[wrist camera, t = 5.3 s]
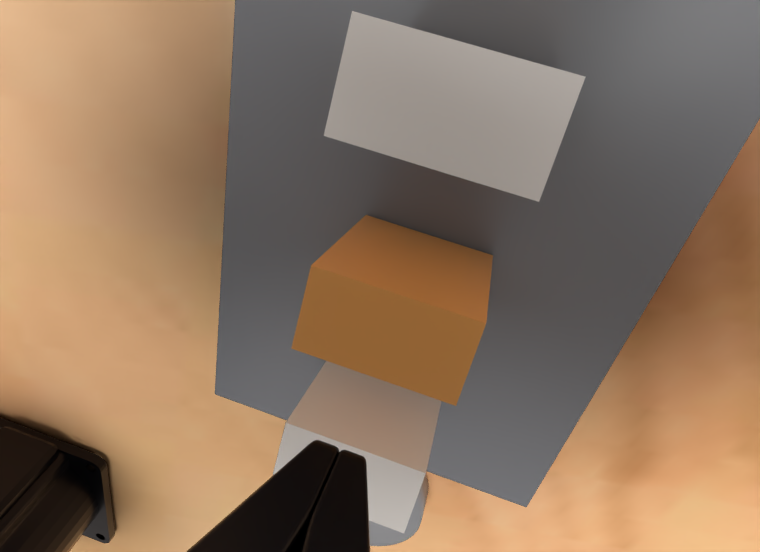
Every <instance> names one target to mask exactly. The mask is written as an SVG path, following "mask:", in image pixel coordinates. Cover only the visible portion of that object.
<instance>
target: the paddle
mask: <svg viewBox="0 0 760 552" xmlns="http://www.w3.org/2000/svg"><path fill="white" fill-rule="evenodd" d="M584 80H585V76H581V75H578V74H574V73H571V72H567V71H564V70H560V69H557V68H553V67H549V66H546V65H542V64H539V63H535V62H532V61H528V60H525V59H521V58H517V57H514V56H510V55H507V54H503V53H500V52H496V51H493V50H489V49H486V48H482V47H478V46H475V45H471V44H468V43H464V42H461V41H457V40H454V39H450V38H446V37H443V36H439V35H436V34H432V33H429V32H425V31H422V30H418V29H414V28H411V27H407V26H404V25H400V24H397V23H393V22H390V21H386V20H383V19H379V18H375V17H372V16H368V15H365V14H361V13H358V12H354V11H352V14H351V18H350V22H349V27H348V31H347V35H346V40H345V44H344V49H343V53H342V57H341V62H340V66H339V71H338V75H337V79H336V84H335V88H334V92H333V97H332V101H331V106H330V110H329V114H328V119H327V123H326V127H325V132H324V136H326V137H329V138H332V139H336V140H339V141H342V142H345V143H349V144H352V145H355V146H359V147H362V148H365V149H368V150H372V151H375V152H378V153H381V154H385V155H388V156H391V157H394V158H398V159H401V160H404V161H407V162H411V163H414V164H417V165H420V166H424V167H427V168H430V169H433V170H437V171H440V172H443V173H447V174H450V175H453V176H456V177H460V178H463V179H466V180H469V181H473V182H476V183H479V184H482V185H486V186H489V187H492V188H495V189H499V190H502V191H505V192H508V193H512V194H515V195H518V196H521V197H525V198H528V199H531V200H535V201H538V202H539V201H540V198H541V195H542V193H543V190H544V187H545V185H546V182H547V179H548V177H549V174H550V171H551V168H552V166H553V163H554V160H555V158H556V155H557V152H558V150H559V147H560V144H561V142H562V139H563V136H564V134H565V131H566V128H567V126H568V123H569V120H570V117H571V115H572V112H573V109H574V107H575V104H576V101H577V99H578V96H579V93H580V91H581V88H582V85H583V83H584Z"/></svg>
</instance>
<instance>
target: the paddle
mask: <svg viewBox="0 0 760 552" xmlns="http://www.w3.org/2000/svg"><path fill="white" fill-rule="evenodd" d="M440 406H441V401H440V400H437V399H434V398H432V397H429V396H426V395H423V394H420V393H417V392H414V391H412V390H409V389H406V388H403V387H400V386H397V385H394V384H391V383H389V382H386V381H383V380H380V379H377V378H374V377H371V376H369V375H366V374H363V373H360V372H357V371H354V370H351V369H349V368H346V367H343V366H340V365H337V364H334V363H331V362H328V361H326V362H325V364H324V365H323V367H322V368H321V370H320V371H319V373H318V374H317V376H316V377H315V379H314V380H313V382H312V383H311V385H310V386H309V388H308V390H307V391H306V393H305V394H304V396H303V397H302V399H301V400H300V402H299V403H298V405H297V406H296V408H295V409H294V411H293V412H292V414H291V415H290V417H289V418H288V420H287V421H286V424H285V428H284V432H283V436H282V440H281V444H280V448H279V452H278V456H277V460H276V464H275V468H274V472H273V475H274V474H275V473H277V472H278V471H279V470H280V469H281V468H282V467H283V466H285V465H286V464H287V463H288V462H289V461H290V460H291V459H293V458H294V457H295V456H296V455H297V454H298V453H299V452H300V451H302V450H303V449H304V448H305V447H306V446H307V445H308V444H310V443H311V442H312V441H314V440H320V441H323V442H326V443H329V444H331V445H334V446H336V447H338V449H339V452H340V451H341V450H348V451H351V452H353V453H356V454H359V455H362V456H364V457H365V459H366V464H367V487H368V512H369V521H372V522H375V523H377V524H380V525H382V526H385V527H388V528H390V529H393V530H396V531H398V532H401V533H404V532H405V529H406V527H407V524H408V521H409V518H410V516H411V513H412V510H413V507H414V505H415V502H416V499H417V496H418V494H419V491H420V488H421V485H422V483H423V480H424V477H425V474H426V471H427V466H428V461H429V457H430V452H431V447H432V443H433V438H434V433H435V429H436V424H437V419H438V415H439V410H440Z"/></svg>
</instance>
